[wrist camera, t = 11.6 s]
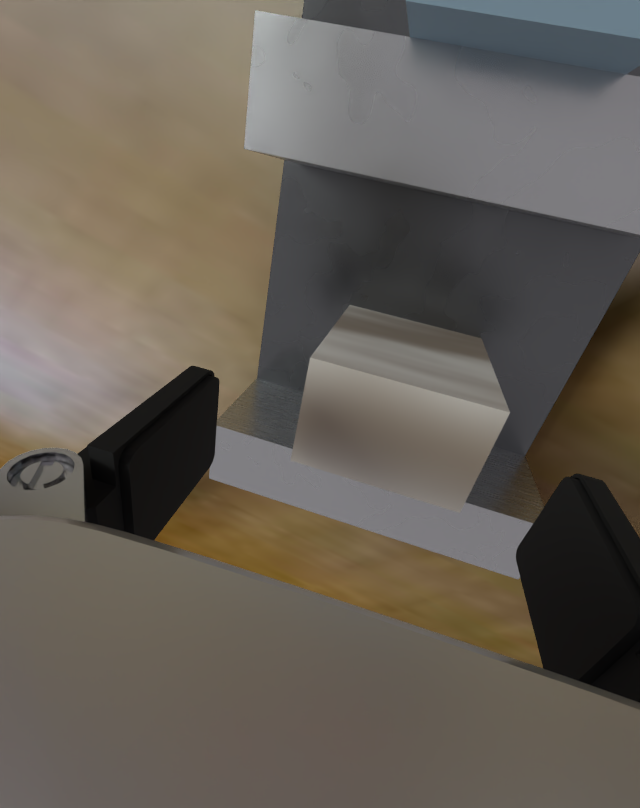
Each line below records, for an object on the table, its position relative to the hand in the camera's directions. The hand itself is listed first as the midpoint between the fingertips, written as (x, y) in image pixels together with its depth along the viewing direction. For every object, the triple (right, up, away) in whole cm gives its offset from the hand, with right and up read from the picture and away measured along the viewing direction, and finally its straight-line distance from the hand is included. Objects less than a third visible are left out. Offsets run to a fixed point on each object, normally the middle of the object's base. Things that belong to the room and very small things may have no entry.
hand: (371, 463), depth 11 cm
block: (+2, +4, +8) cm, 9 cm away
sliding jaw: (+4, +12, +3) cm, 13 cm away
